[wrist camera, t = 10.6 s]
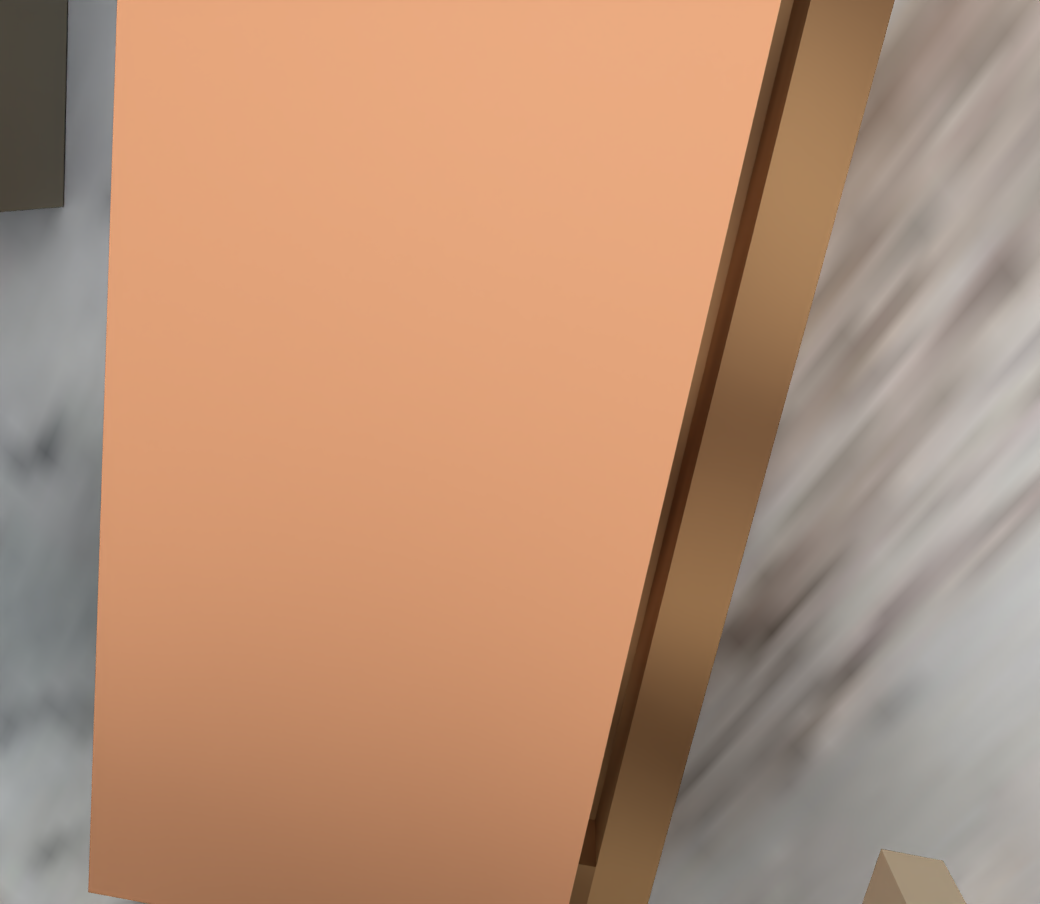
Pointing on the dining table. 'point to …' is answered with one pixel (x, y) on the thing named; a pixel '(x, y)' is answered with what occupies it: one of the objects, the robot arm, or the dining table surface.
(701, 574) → the tray
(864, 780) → the dining table surface
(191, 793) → the peach rectangular brick
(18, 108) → the dispenser
